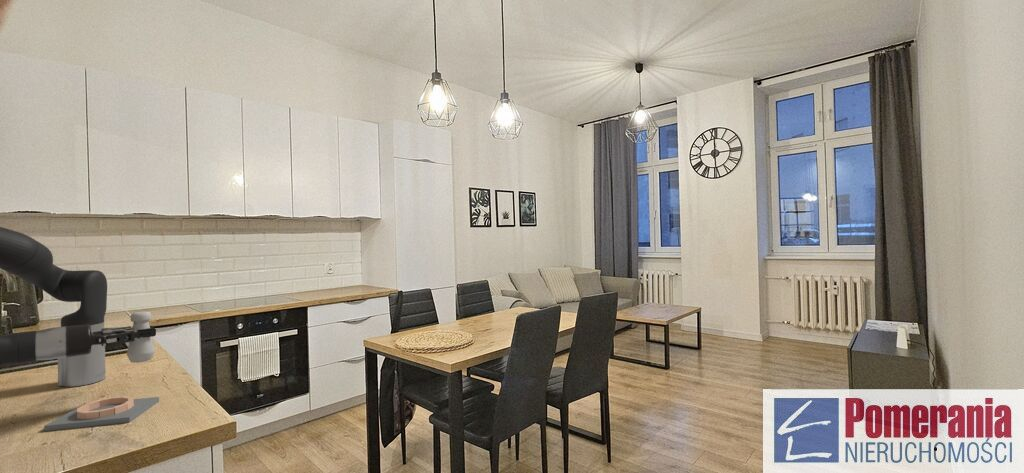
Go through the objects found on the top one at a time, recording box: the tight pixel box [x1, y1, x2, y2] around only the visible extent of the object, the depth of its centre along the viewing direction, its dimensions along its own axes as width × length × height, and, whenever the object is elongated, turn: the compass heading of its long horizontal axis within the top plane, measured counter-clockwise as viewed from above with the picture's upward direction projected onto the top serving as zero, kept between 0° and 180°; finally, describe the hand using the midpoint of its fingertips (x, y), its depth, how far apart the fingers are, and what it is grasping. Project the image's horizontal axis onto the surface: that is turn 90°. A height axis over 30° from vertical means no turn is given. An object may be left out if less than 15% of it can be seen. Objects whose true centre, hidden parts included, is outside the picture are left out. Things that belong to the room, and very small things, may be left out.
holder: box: [43, 395, 160, 432], centre depth 106 cm, size 16×13×3 cm
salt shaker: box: [126, 310, 156, 364], centre depth 116 cm, size 6×6×13 cm
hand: (154, 330), depth 119 cm, fingers closed on salt shaker, 3 cm apart
